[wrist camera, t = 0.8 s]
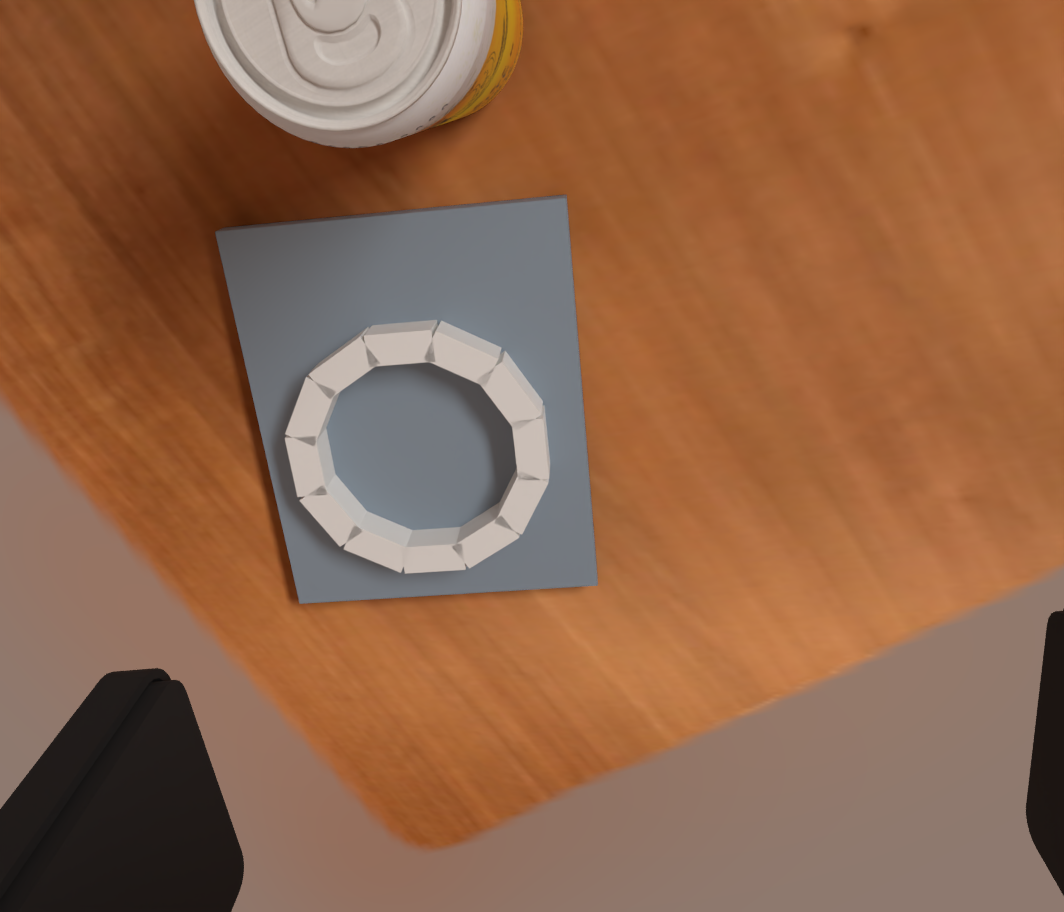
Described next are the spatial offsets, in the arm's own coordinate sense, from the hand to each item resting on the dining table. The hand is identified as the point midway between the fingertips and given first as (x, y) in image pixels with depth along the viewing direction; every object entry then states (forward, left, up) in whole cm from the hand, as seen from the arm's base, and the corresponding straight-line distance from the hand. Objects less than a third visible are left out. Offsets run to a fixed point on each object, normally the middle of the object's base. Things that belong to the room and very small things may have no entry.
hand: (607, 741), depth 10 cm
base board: (+5, -7, -26) cm, 28 cm away
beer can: (-9, -5, -27) cm, 28 cm away
